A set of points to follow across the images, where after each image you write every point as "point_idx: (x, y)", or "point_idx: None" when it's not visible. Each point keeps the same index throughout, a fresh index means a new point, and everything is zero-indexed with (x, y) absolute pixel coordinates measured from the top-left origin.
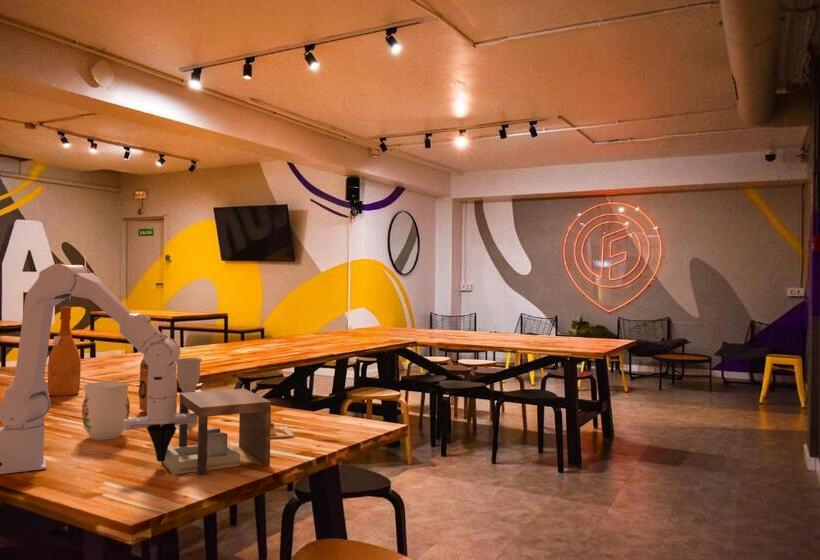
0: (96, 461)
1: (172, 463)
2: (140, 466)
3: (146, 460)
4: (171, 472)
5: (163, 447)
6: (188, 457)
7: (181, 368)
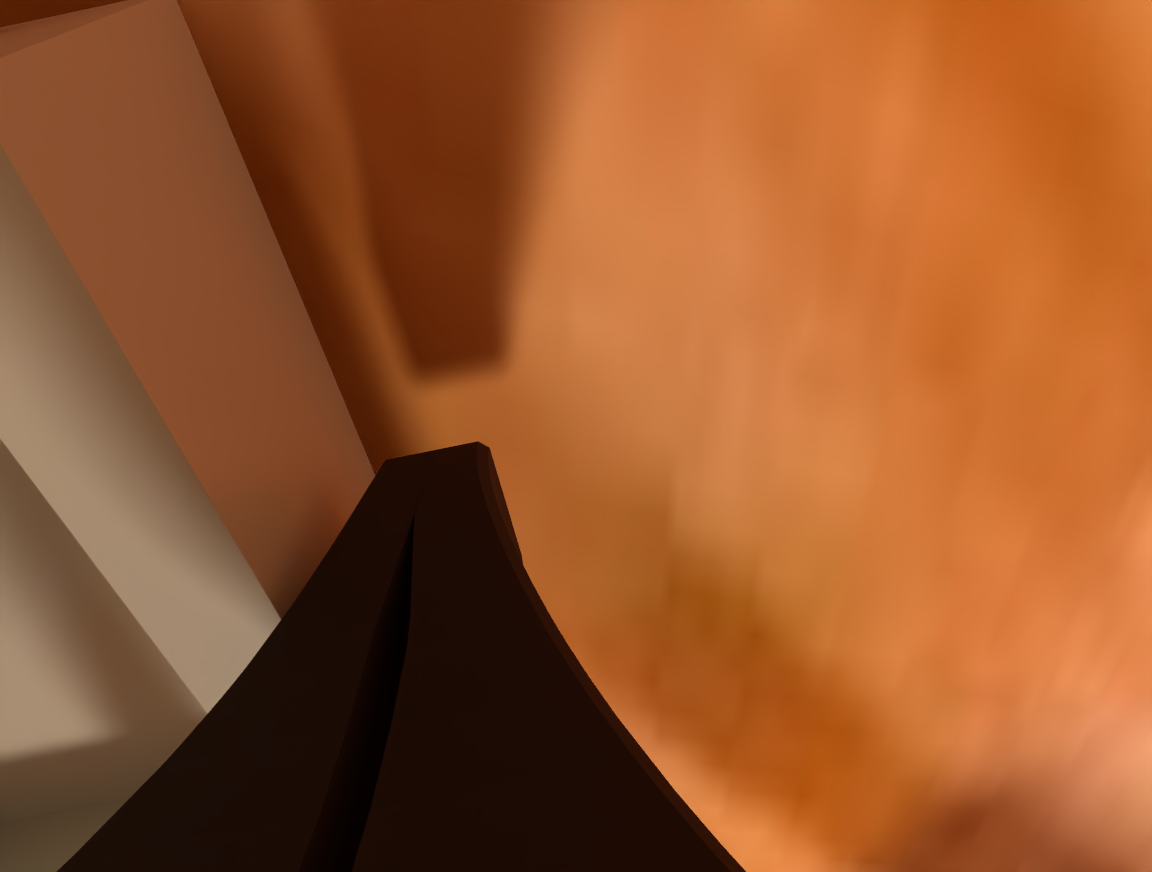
0: (1078, 749)
1: (102, 68)
2: (714, 550)
3: (633, 723)
4: (218, 112)
5: (365, 625)
6: (78, 671)
7: None
